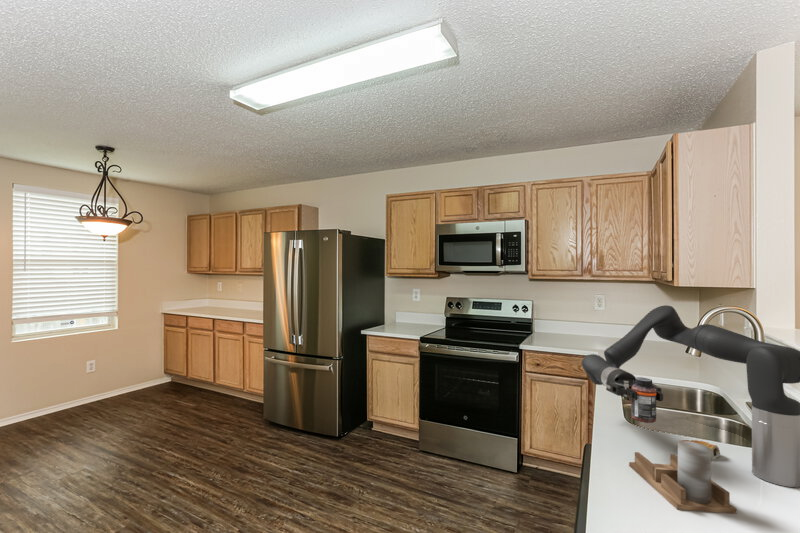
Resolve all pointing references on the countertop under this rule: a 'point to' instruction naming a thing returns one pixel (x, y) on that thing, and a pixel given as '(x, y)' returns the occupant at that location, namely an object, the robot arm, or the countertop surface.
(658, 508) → the countertop surface
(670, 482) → the rail rack
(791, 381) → the robot arm
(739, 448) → the countertop surface
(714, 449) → the pastry
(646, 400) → the supplement bottle
